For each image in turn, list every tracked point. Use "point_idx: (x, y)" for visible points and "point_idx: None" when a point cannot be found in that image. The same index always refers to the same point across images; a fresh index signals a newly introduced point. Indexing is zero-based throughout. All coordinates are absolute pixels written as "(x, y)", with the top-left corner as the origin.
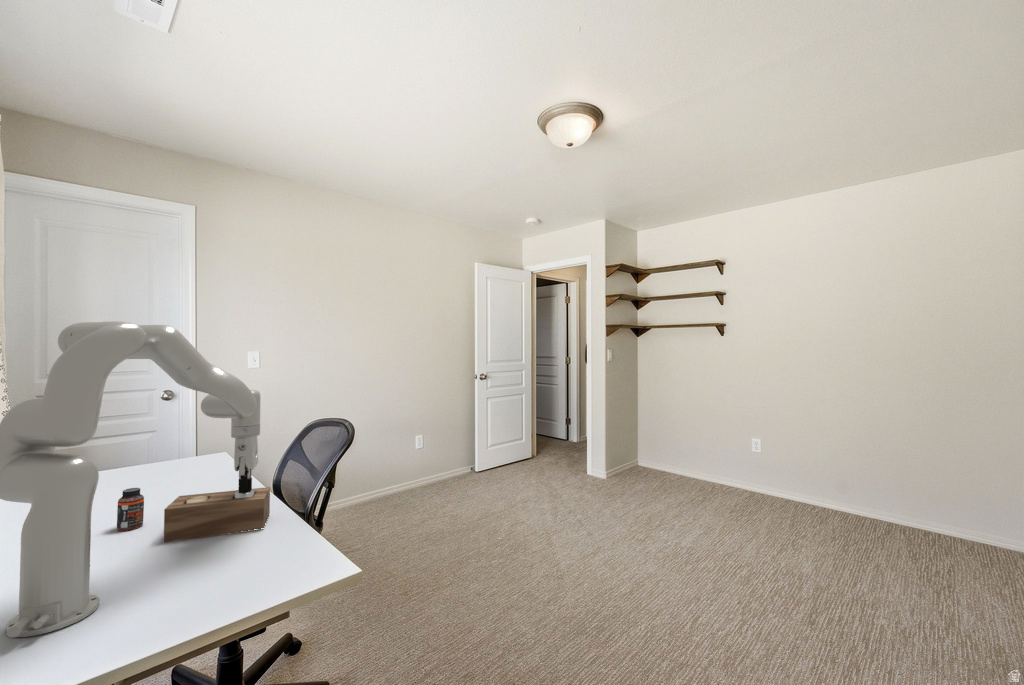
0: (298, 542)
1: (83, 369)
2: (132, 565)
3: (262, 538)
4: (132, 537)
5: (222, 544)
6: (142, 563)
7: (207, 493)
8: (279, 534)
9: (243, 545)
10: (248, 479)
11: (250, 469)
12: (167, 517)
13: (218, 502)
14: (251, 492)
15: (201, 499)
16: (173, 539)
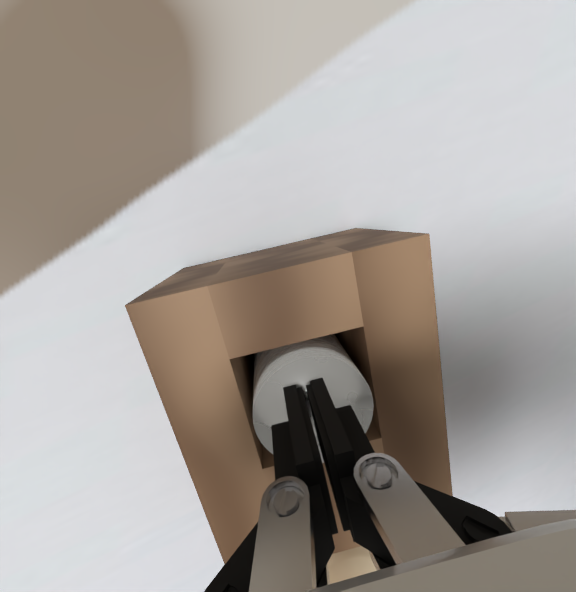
0: (542, 10)
1: None
2: (532, 476)
3: (451, 194)
4: None
5: (464, 319)
6: (529, 461)
7: None
8: (428, 134)
9: (496, 242)
10: (354, 462)
11: (310, 585)
12: None
13: (431, 471)
14: (337, 362)
15: (368, 570)
16: None
